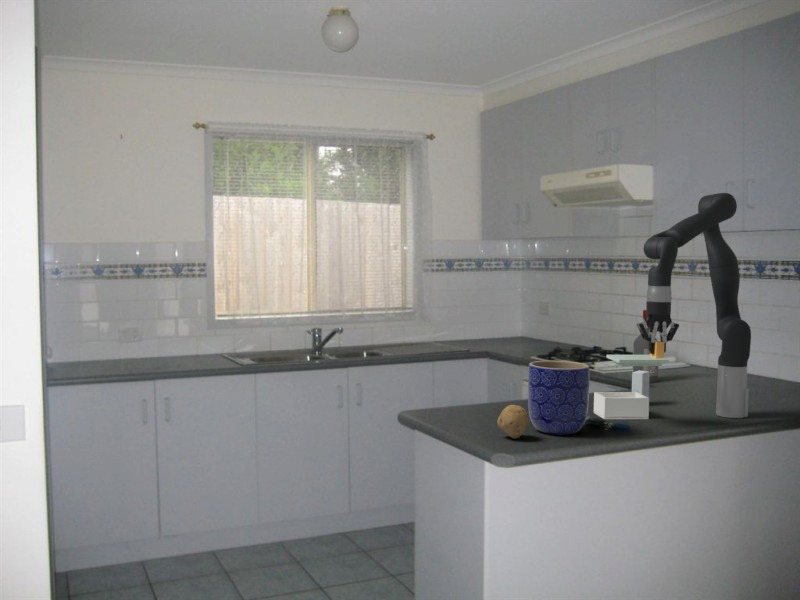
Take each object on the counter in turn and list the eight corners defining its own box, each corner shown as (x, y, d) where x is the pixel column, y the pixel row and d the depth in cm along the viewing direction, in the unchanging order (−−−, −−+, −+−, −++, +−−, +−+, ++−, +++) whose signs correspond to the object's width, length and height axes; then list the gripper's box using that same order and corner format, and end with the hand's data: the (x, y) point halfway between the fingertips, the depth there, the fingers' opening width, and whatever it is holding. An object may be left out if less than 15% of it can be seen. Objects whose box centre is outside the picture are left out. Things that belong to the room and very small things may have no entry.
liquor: (660, 381, 357) (663, 310, 355) (646, 383, 352) (649, 311, 349) (643, 378, 364) (646, 309, 362) (629, 380, 359) (631, 309, 357)
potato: (493, 439, 247) (494, 406, 247) (501, 433, 256) (502, 400, 255) (524, 443, 244) (525, 408, 244) (531, 436, 253) (531, 403, 252)
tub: (636, 412, 291) (636, 392, 291) (648, 419, 280) (649, 398, 280) (593, 412, 290) (594, 392, 289) (604, 419, 279) (605, 398, 278)
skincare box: (637, 402, 309) (638, 370, 308) (648, 404, 306) (650, 371, 305) (630, 405, 304) (631, 372, 303) (641, 406, 301) (643, 373, 301)
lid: (653, 361, 277) (654, 339, 277) (668, 366, 266) (669, 344, 265) (606, 361, 276) (607, 339, 276) (619, 366, 264) (619, 343, 264)
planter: (554, 422, 273) (556, 358, 272) (600, 432, 259) (602, 365, 258) (514, 429, 262) (516, 363, 260) (560, 440, 248) (562, 370, 246)
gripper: (675, 299, 274) (673, 352, 276) (633, 299, 273) (631, 352, 274) (685, 301, 267) (682, 355, 268) (642, 300, 266) (640, 355, 267)
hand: (656, 353), depth 271 cm, fingers closed on lid, 2 cm apart
